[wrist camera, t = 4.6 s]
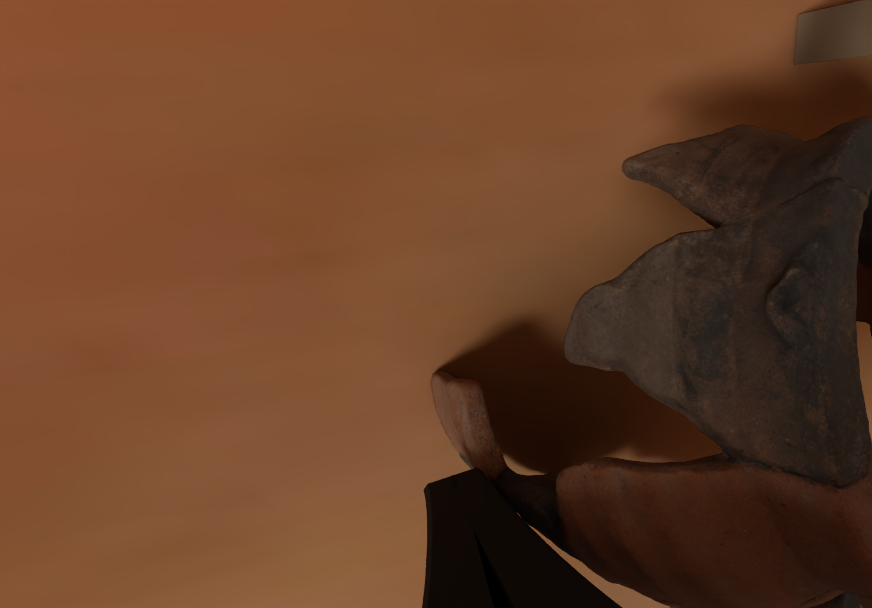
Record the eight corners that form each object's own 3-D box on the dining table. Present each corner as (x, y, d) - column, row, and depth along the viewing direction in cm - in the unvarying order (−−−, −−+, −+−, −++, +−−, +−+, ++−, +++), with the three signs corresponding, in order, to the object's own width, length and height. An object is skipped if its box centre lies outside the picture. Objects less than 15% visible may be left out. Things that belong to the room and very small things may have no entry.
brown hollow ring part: (336, 286, 11) (681, 166, 4) (585, 162, 16) (946, 5, 9) (539, 690, 13) (1015, 1101, 6) (706, 472, 18) (1083, 555, 10)
